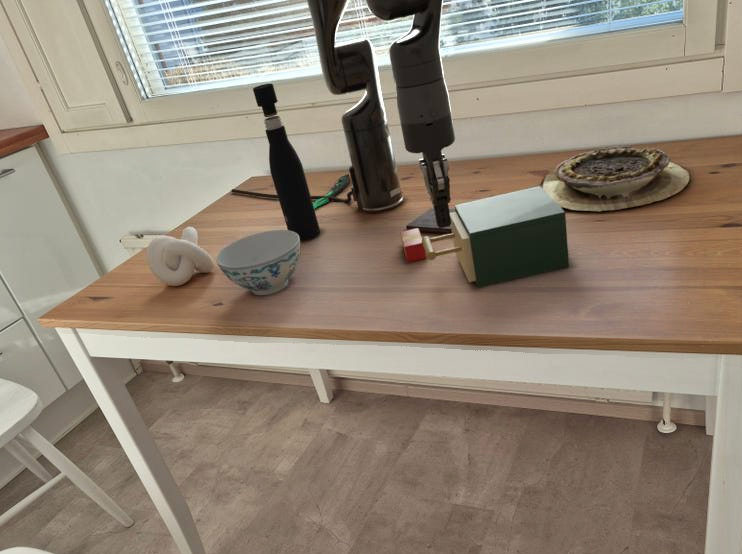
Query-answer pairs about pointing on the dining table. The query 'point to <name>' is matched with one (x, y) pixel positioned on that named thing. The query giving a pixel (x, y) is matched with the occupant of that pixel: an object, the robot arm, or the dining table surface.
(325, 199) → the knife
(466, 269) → the drawer
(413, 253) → the red yellow striped block
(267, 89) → the black water bottle
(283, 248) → the chinaware
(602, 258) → the dining table surface
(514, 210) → the cabinet
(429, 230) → the chocolate bar
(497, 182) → the dining table surface
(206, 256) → the white knot sculpture
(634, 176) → the pie
